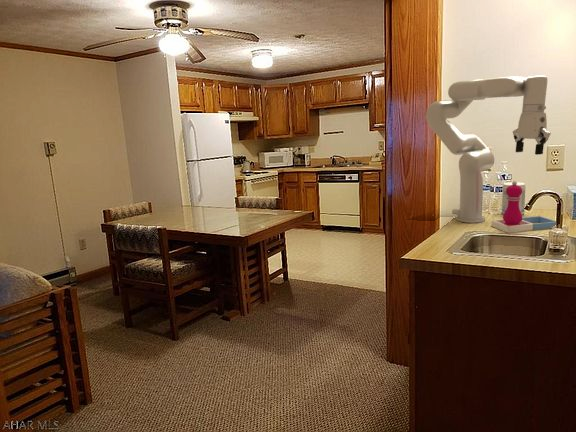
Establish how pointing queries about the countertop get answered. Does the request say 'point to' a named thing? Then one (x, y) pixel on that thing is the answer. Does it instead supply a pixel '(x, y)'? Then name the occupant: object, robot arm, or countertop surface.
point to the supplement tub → (504, 197)
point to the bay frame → (525, 224)
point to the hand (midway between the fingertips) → (528, 153)
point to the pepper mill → (513, 205)
